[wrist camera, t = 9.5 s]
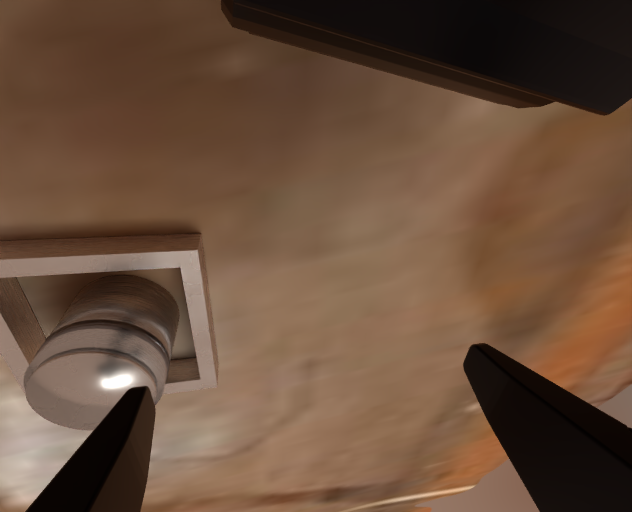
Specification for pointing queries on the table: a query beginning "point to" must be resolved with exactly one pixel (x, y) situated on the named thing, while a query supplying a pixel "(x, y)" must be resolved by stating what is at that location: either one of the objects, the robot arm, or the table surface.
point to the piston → (103, 351)
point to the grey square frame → (103, 256)
